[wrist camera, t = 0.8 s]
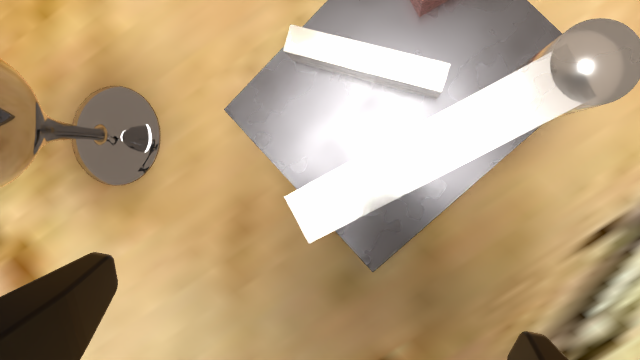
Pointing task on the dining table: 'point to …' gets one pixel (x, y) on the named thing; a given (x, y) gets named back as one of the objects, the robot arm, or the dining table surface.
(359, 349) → the dining table surface
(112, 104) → the wine glass
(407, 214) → the base
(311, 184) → the swing bar
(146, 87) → the dining table surface
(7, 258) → the dining table surface
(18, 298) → the robot arm
